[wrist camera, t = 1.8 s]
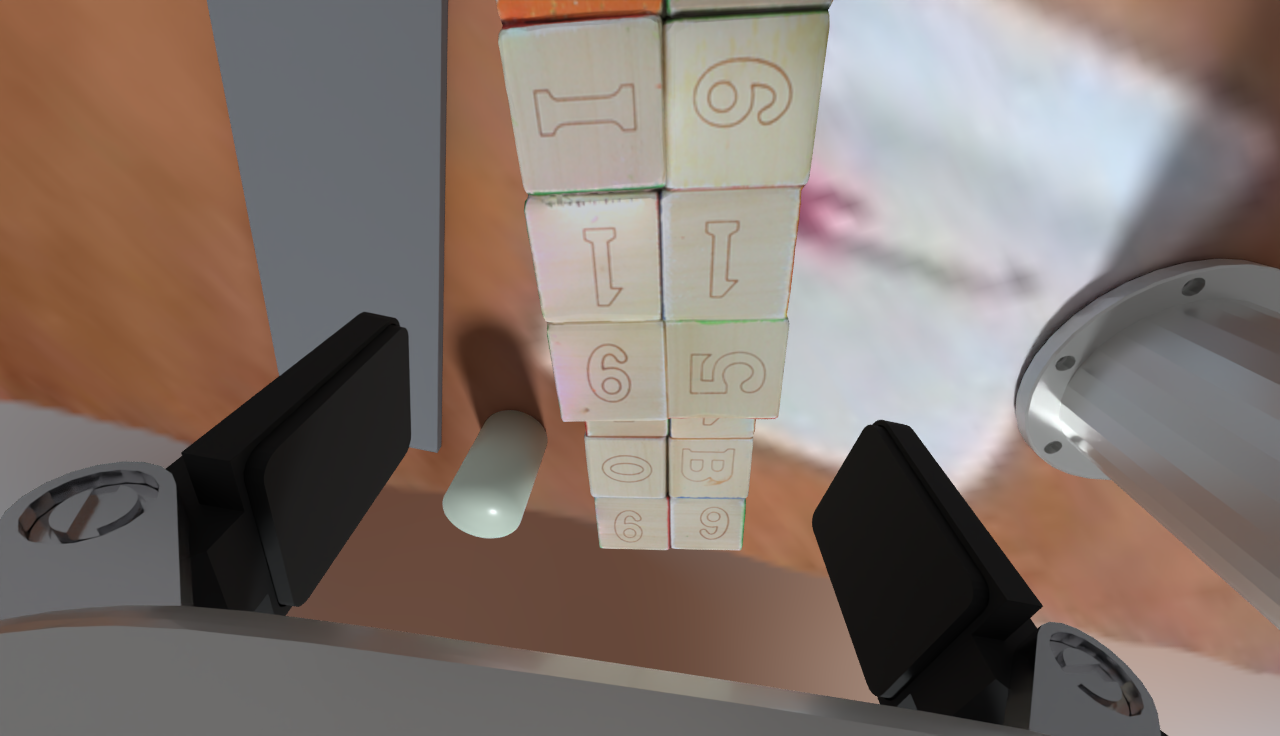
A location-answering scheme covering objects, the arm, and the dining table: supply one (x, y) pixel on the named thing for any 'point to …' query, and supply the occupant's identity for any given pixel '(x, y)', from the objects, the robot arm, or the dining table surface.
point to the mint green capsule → (497, 475)
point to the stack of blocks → (665, 237)
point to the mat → (344, 170)
